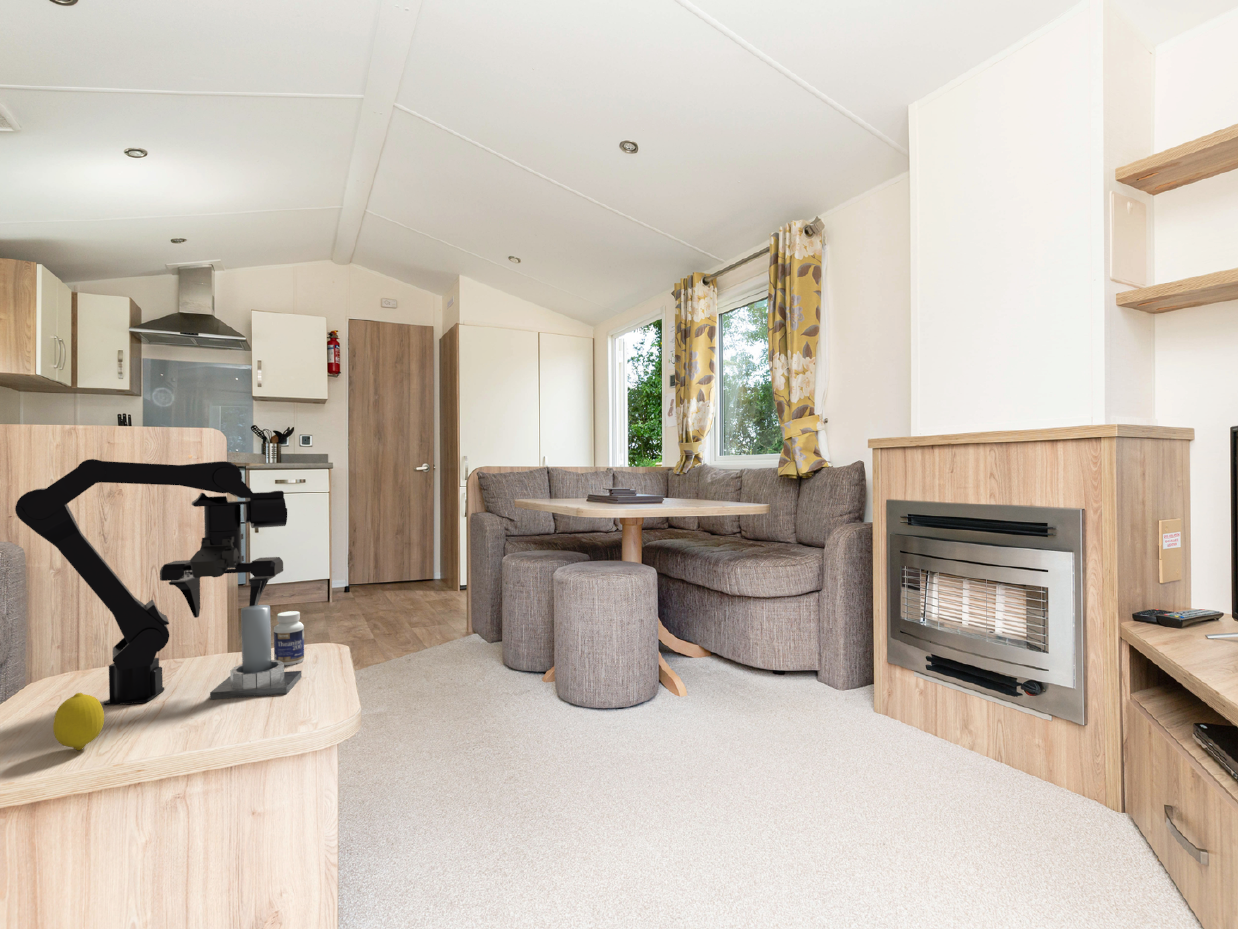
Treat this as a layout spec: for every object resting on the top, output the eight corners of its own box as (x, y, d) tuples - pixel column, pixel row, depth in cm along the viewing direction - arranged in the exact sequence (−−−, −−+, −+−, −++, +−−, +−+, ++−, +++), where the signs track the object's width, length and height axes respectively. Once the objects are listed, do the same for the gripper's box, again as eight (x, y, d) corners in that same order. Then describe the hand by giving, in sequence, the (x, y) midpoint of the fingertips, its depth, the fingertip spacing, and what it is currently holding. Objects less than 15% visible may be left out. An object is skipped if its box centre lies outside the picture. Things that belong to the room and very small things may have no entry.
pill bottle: (275, 668, 129) (274, 617, 129) (273, 661, 134) (272, 612, 134) (305, 663, 132) (305, 614, 132) (303, 656, 137) (302, 609, 136)
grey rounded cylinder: (238, 686, 115) (236, 611, 115) (248, 677, 120) (246, 605, 119) (266, 684, 116) (264, 610, 116) (275, 675, 121) (273, 604, 120)
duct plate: (210, 699, 112) (209, 677, 112) (230, 682, 121) (230, 661, 121) (286, 694, 115) (286, 672, 115) (301, 677, 124) (301, 657, 123)
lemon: (77, 760, 90) (76, 701, 90) (43, 757, 91) (41, 699, 91) (114, 742, 96) (113, 687, 96) (82, 740, 97) (81, 685, 97)
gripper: (142, 537, 112) (144, 630, 112) (263, 533, 115) (265, 623, 115) (174, 530, 123) (175, 614, 123) (283, 527, 126) (284, 609, 126)
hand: (224, 615), depth 121 cm, fingers open, 9 cm apart
